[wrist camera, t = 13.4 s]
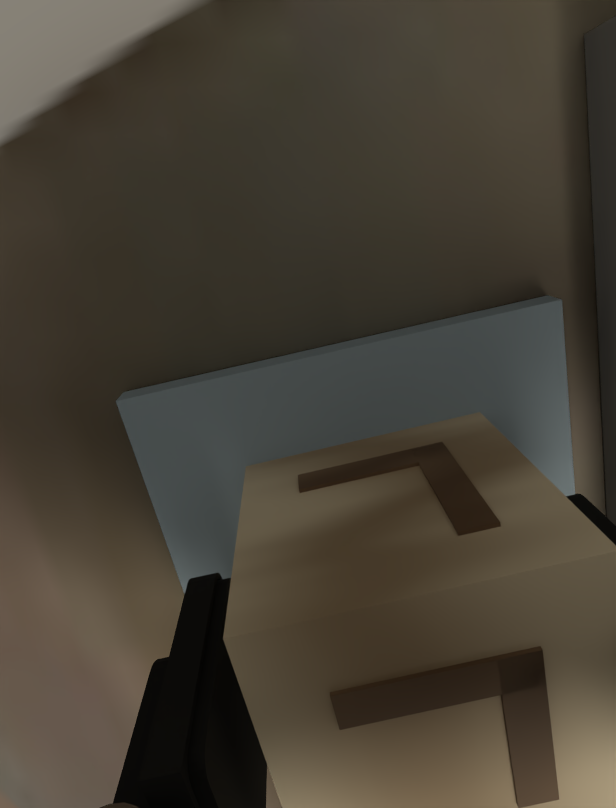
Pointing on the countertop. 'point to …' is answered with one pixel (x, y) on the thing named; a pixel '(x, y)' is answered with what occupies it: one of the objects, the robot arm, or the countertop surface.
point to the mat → (344, 413)
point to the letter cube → (424, 626)
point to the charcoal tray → (604, 226)
